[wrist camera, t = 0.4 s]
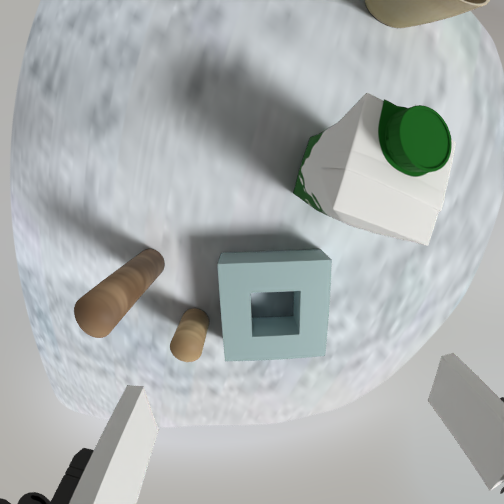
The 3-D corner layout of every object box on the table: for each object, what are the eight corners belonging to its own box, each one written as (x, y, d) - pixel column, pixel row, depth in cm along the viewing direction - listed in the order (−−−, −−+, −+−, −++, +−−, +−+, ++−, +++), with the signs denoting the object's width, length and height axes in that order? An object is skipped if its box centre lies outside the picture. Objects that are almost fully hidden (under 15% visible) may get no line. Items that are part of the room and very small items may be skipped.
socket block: (221, 252, 36) (217, 264, 31) (320, 249, 36) (331, 259, 31) (227, 340, 38) (225, 361, 34) (316, 336, 39) (325, 355, 34)
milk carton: (370, 153, 33) (481, 136, 14) (349, 221, 35) (448, 267, 16) (304, 127, 32) (371, 69, 13) (282, 199, 34) (328, 222, 15)
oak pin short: (180, 308, 37) (167, 334, 31) (207, 308, 37) (200, 334, 31) (183, 332, 38) (172, 361, 31) (210, 332, 38) (203, 362, 31)
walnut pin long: (136, 249, 35) (69, 295, 20) (163, 248, 35) (107, 296, 20) (139, 276, 36) (80, 336, 21) (166, 276, 36) (116, 339, 21)
